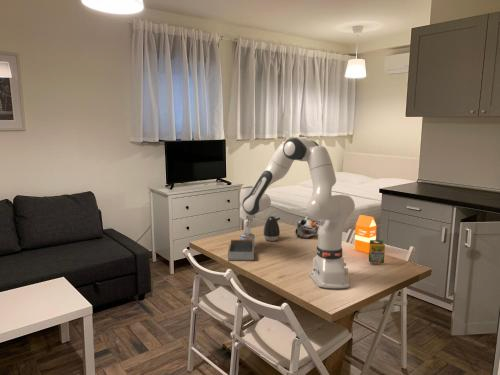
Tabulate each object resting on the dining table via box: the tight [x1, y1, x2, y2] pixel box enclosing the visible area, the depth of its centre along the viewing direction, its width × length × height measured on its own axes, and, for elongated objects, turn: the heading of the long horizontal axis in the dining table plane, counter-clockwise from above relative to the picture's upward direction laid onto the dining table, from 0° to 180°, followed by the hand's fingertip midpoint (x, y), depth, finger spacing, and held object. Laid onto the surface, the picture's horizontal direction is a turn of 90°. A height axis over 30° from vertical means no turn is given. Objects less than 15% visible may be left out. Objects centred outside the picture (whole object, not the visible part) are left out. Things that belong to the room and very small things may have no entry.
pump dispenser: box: [263, 215, 281, 242], centre depth 237 cm, size 10×10×15 cm
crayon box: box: [368, 239, 386, 264], centre depth 198 cm, size 7×3×12 cm, turn 89°
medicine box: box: [239, 232, 256, 246], centre depth 219 cm, size 8×4×9 cm, turn 134°
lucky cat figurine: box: [294, 218, 320, 239], centre depth 243 cm, size 15×12×14 cm
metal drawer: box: [227, 239, 255, 262], centre depth 206 cm, size 14×14×8 cm
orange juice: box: [354, 214, 377, 254], centre depth 218 cm, size 8×9×20 cm
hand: (247, 237), depth 218 cm, fingers open, 8 cm apart
